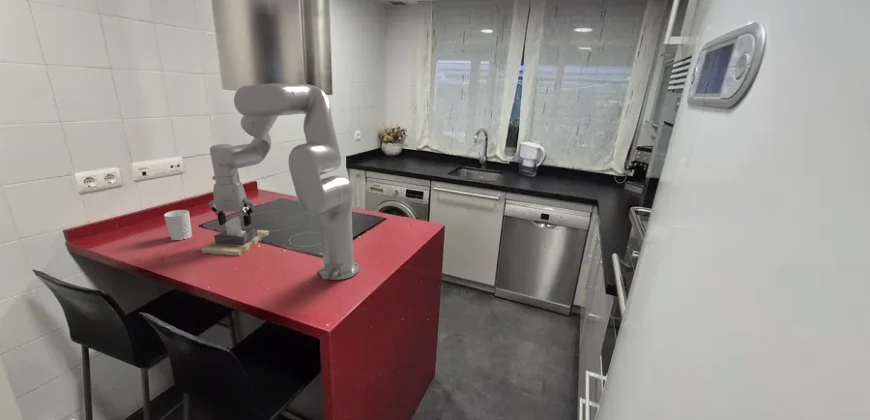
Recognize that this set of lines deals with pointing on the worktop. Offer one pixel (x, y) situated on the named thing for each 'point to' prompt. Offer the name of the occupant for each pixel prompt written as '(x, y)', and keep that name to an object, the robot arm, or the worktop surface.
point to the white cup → (178, 224)
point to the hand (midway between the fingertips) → (235, 224)
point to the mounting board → (234, 242)
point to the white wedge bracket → (234, 227)
